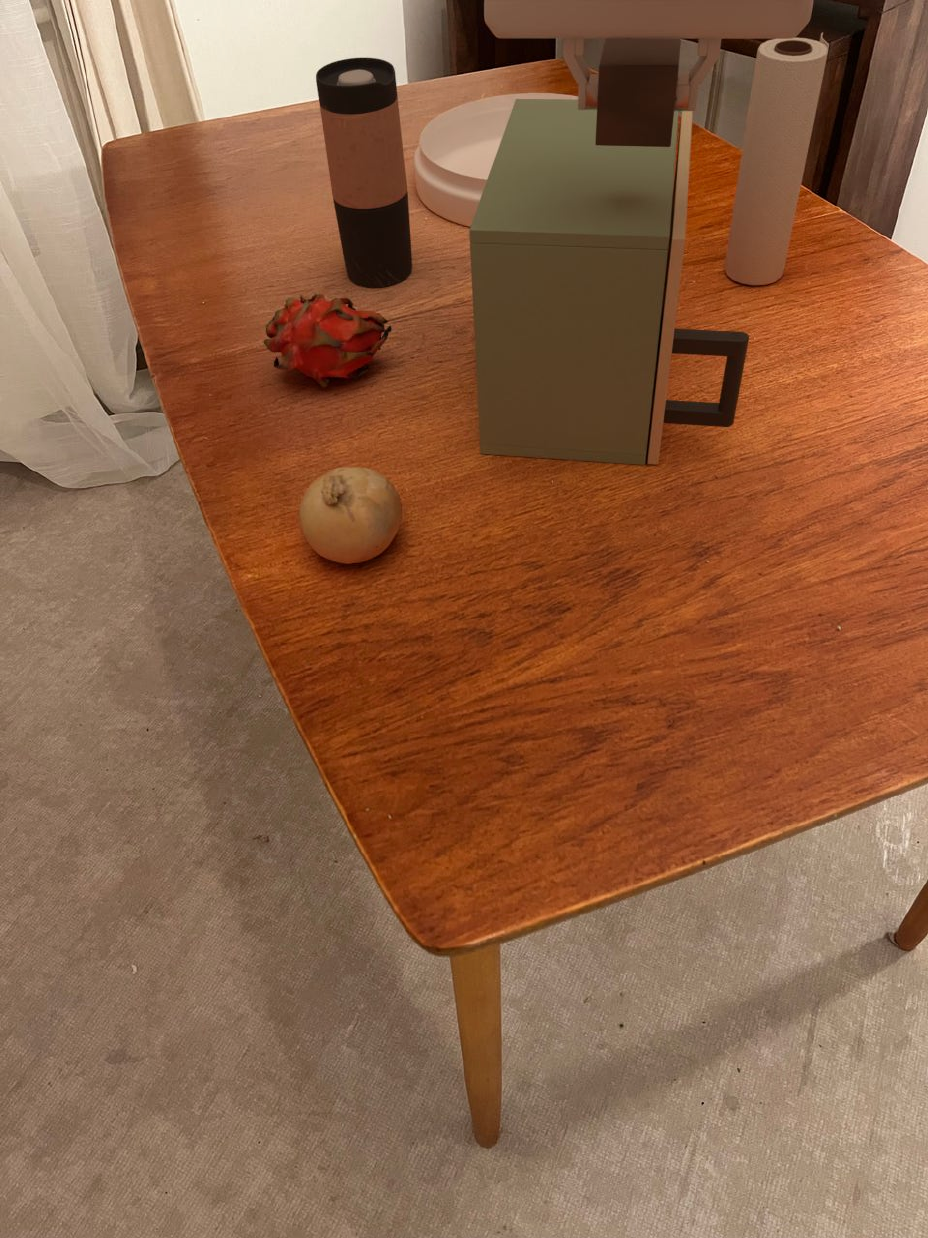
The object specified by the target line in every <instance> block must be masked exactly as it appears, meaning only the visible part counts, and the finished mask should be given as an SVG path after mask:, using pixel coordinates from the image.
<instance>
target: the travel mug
mask: <svg viewBox="0 0 928 1238" xmlns="http://www.w3.org/2000/svg"><path fill="white" fill-rule="evenodd" d="M396 77H397V75H396V68H395V67H394V65H393V64H392V63H391V62H390V61H387V60H385V59H381V58H377V57H351V58H345V59H339V60H336V61H332V62H330V63H327V64H325V65H323V66H322V67H320V68H319V69H318V70H317V72H316V74H315V82H316V89H317V96H318V103H319V111H320V119H321V124H322V132H323V139H324V146H325V153H326V159H327V166H328V174H329V180H330V189H331V195H332V198H333V199H332V201H333V206H334V212H335V216H336V223H337V227H338V233H339V238H340V244H341V250H342V254H343V261H344V266H345V270H346V274H347V277H348V279H349V280H350V282H352V283H353V284H354V285H357V286H360V287H365V288H386V287H390V286H394V285H397V284H400V283H402V282H403V281H404V280H406V279H407V278H408V277H410V275H411V274H412V271H413V257H412V256H413V255H412V241H411V240H412V239H411V238H412V237H411V227H410V226H411V225H410V224H411V223H410V211H409V207H410V206H409V194H408V193H409V192H408V182H407V173H406V172H407V171H406V164H405V153H404V147H403V146H404V144H403V135H402V126H401V125H402V123H401V117H400V106H399V97H398V87H397V78H396Z"/></svg>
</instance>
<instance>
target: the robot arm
mask: <svg viewBox="0 0 928 1238" xmlns="http://www.w3.org/2000/svg"><path fill="white" fill-rule="evenodd" d="M813 7H814V0H484V1H483V9H484V10H483V11H484V12H483V16H484V23H485V24H486V26H487V27H488V29H489V30H490V31H491V33H492V34H493V35H494V36H495V37H496V38H498V39H562V58H563V60H564V62H565V65H566V66H567V68H568V69H569V71H570V73H571V75H572V78H573V80H574V81H575V83H576V84H578V92H577V96H578V110H597V99H598V77H599V73H591V71H590V68H589V67H588V64H587V62H586V60H585V58H584V55H585V51H586V47H587V43H588V39H681V40H682V39H687V40H688V39H689V40H690V39H691V40H693V39H697V56H698V57H699V58H698V59H697V60H696V62H695V64H694V65H693V67H692V68H691V70H690V71H689V74H678V79H677V89H676V99H675V108H674V111H679V112H682V111H693V112H696V109H697V103H698V102H697V101H698V91H699V85H701V84H703V82H704V80H705V79H706V78H707V76H708V75H709V73H710V71H711V70H712V69H713V68H714V65H716V63H717V61H718V60H719V58H720V54H721V48H722V47H721V45H722V40H723V39H724V40H725V39H727V40H728V39H730V40H731V39H733V40H734V39H735V40H736V39H737V40H738V39H739V40H741V39H743V40H744V39H746V40H748V39H749V40H750V39H751V40H757V39H758V40H760V39H762V40H765V39H766V40H773V39H791V38H794V37H795V38H797V36H798V35H799V34H800V33H801V32H802V31H803V30H804V29H805V28H806V26H807V25H808V24H809V23H810V21H811V19H812V12H813Z"/></svg>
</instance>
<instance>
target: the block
mask: <svg viewBox="0 0 928 1238" xmlns="http://www.w3.org/2000/svg"><path fill="white" fill-rule="evenodd" d="M681 43H682V39H668V38H604V42H603V47H602V51H601V56H600V60H599V64H598V74H599V77H598V99H597V120H596V141H595V144H596V145H597V146H645V147H670V146H671V138H672V128H673V118H674V108H675V99H676V89H677V79H678V75H679V70H680V69H679V67H680V57H681V55H680V54H681V45H682V44H681Z"/></svg>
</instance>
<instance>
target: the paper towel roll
mask: <svg viewBox="0 0 928 1238" xmlns="http://www.w3.org/2000/svg"><path fill="white" fill-rule="evenodd" d="M823 35H824V32H821V33H820V37H819V41H818V40H815V39H811V38H806V37H794V38H791V39H767V40H766V41H764V42H762V43H760V45H759V46H758V47H757V51H756V58H755V64H754V71H753V76H752V77H753V78H752V83H751V91H750V97H749V103H748V110H747V116H746V122H745V129H744V135H743V143H742V149H741V156H740V162H739V168H738V175H737V180H736V186H735V187H736V188H735V193H734V201H733V208H732V215H731V221H730V227H729V234H728V239H727V247H726V254H725V260H724V267H723V269H724V272H725V274H726V276H727V277H728V278H730V279H731V280H732V281H734V282H737V283H740V284H743V285H748V286H749V285H750V286H765V285H769V284H773V283H776V282H777V281H779V280H780V279H781V278H782V277H783V274H784V271H785V266H786V260H787V256H788V253H789V252H788V251H789V247H790V242H791V237H792V231H793V226H794V222H795V217H796V212H797V208H798V207H797V206H798V202H799V197H800V191H801V187H802V182H803V177H804V173H805V168H806V163H807V158H808V152H809V149H810V148H809V147H810V143H811V138H812V133H813V128H814V124H815V123H814V122H815V119H816V113H817V108H818V105H819V99H820V93H821V88H822V84H823V78H824V74H825V68H826V63H827V59H828V53H829V46H830V44H829V43H828V42H827V41H826V40H825V39H824V38H823Z"/></svg>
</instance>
